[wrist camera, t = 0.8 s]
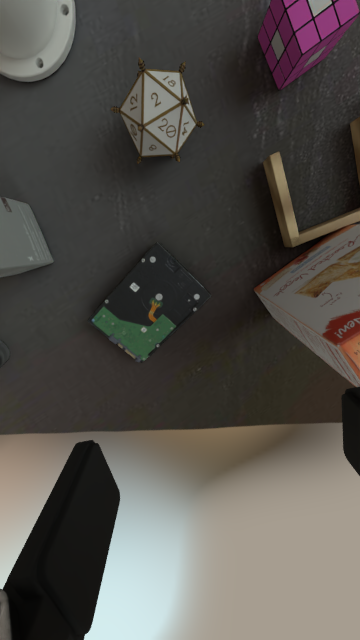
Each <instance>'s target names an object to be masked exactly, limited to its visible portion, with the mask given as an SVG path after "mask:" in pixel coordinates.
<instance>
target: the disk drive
mask: <svg viewBox="0 0 360 640" xmlns="http://www.w3.org/2000/svg"><path fill="white" fill-rule="evenodd" d="M210 297H211V295H210V293H209V292H208V291H207V290H206V289H205V288H204V287H203V286H202V285H201V284H200V283H199V282H198V281H197V280H196V279H195V278H194V277H193V276H192V275H191V274H190V273H189V272H188V271H187V270H186V269H185V268H184V267H183V266H182V265H181V264H180V263H179V262H178V261H177V260H176V259H175V258H174V257H173V256H172V255H171V254H170V253H169V252H168V251H167V250H166V249H165V248H164V247H163V246H162V245H161V244H160V243H155V245H154V246H153V247H152V248H151V249H150V250H149V251H148V252H147V253H146V254H145V255H144V256H143V258H142V259H141V260H140V261H139V262H138V264H137V265H136V266H135V267H134V268H133V269H132V270H131V271H130V273H129V274H128V275H127V276H126V277H125V278H124V279H123V280H122V282H121V283H120V284H119V285H118V286H117V287H116V288H115V290H114V291H113V292H112V293H111V294H110V295H109V296H108V297H107V298H106V300H105V301H104V302H103V303H102V304H101V305H100V306H99V307H98V308H97V309H96V310H95V312H94V313H93V314H92V315H91V317H90V318H89V319H88V322H89V323H90V324H92V325H93V326H94V327H95V328H97V329H98V330H99V331H100V332H101V333H103V334H104V335H105V336H106V337H109V338H108V339H109V340H110V341H112V342H113V343H114V344H116V343H117V344H118V346H119V347H121V348H122V349H124V351H125V352H127V353H128V354H129V355H130V356H132V357H133V358H134V359H136V361H137V362H141V363H142V362H143V361H144V360H145V359H146V358H147V357H148V356H151V355H152V354H153V353H154V352H155V351H156V350H157V349H158V348H159V347H160V346H161V345H162V344H163V343H164V342H165V341H166V340H167V339H168V338H169V337H170V336H171V335H172V334H173V333H174V332H175V331H176V330H177V329H178V328H179V327H180V326H181V325H182V324H183V323H184V322H185V321H186V320H187V319H188V318H189V317H190V316H191V315H192V314H193V313H194V312H195V311H196V310H198V309H199V308H200V307H201V306H202V305H203V304H204V303H205V302H206V301H207V300H208V299H209V298H210Z"/></svg>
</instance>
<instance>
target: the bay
mask: <svg viewBox="0 0 360 640" xmlns="http://www.w3.org/2000/svg"><path fill="white" fill-rule="evenodd" d="M350 128H351V134H352V141H353V147H354V153H355V160H356V166H357V173H358V179H359V186H360V117H359V118H357V119H356V120H354V121H353V122H351V123H350ZM263 165H264V169H265V173H266V176H267V180H268V184H269V188H270V192H271V196H272V200H273V204H274V208H275V212H276V215H277V219H278V223H279V227H280V231H281V235H282V239H283V243H284V247H295V246H297V245H300V244H302V243H305V242H307V241H310V240H313V239H315V238H318V237H320V236H323V235H325V234H328V233H330V232H333V231H335V230H338V229H340V228H343V227H345V226H348V225H351V224H353V223H356V222H358V221H360V208H358V209H355V210H353V211H350V212H348V213H345V214H343V215H340V216H338V217H335V218H333V219H330V220H328V221H325V222H323V223H320V224H318V225H315V226H313V227H310V228H308V229H305V230H303V231H300V232H298V228H297V224H296V220H295V216H294V211H293V207H292V203H291V199H290V194H289V190H288V186H287V182H286V177H285V173H284V169H283V165H282V161H281V156H280V152H276V153H274V154H272V155H270V156H269V157H268V158H267V159H266V160H265V161H264V162H263Z"/></svg>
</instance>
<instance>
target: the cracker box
mask: <svg viewBox="0 0 360 640" xmlns="http://www.w3.org/2000/svg"><path fill="white" fill-rule="evenodd" d="M254 291H255V292H256V294H257V295H258V297H259V298H260V300H261V301H262V302H263V304H264V305H265V307H266V308H267V310H268V311H269V312H270V314H271V315H272V317H273V318H274V319H275V320H276V321H278V322H279V323H280V324H281V325H282V326H283V327H285V328H286V329H287V330H288V331H289V332H290V333H292V334H293V335H294V336H295V337H296V338H298V339H299V340H300V341H301V342H302V343H304V344H305V345H306V346H307V347H308V348H310V349H311V350H312V351H313V352H314V353H315V354H317V355H318V356H319V357H320V358H321V359H323V360H324V361H325V362H326V363H327V364H329V365H330V366H331V367H332V368H334V369H335V370H336V371H337V372H338V373H340V374H341V375H342V376H343V377H345V378H346V379H347V380H348V381H350V382H351V383H352V384H353V385H354V386H355V387H360V224H359V225H349V226H345V227H343V228H340V229H338V230H335V231H333V232H332V233H330V234H329V235H327V236H326V237H325V238H323V239H322V240H320V241H319V242H318V243H316V244H315V245H314V246H312V247H311V248H309V249H308V250H307V251H305V252H304V253H303V254H301V255H300V256H298V257H297V258H296V259H294V260H293V261H291V262H290V263H289V264H287V265H286V266H285V267H283V268H282V269H280V270H279V271H278V272H276V273H275V274H273V275H272V276H271V277H269V278H268V279H266V280H265V281H264V282H262V283H261V284H260V285H258V286H257V287H255V288H254Z"/></svg>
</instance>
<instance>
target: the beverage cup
mask: <svg viewBox="0 0 360 640" xmlns="http://www.w3.org/2000/svg"><path fill="white" fill-rule="evenodd" d="M9 357H10V351H9V349H8V347H7V346H6V344H5V343H3V342H2V341H0V368H1V367H2V365H3V364H4V363H6V362H7V361H8V359H9Z"/></svg>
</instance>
